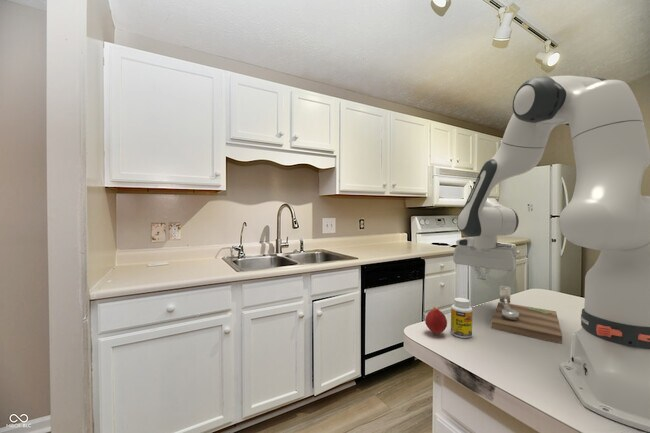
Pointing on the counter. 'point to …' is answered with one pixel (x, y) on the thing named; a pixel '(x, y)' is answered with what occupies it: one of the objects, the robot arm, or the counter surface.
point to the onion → (436, 321)
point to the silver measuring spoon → (505, 300)
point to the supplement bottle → (461, 318)
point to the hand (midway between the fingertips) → (482, 279)
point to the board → (529, 323)
